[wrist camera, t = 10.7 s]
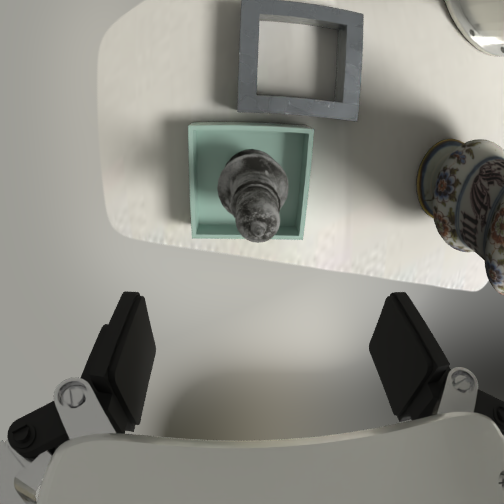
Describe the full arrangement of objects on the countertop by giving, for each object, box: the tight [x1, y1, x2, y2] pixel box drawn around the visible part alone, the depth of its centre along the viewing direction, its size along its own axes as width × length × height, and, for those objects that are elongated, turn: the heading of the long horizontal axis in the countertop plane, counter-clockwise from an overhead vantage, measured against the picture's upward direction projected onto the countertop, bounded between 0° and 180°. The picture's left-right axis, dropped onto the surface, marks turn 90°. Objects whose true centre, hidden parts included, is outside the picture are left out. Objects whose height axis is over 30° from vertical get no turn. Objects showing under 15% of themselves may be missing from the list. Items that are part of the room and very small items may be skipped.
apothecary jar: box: [417, 139, 504, 295], centre depth 22 cm, size 12×12×18 cm
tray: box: [188, 122, 314, 240], centre depth 28 cm, size 10×10×3 cm
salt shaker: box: [217, 149, 289, 242], centre depth 23 cm, size 6×6×12 cm
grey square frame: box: [237, 0, 363, 121], centre depth 22 cm, size 10×10×2 cm
